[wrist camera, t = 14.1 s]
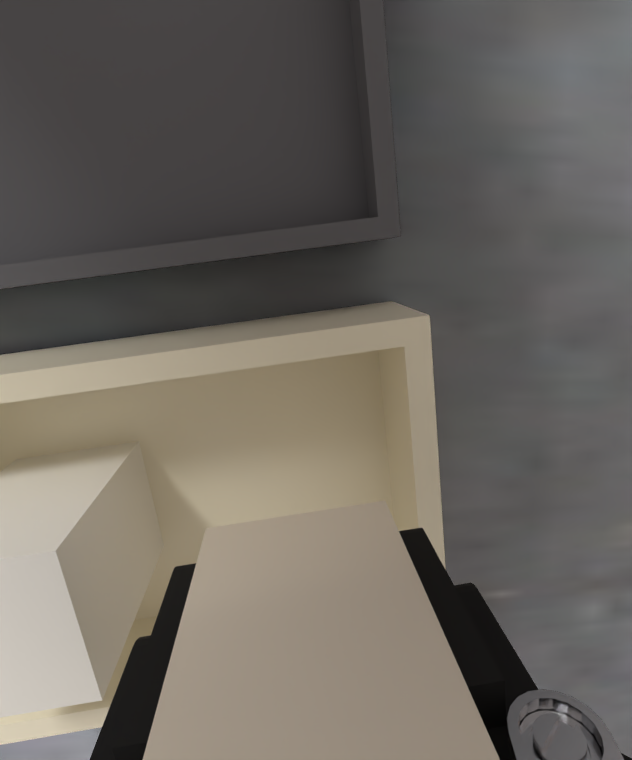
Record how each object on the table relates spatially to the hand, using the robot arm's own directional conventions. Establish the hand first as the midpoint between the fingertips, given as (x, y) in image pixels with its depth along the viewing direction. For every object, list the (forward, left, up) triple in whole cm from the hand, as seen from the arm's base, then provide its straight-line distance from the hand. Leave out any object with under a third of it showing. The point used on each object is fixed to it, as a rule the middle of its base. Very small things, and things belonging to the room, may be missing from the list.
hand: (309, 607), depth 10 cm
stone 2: (0, 0, -1) cm, 1 cm away
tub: (0, -4, -7) cm, 8 cm away
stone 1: (0, -7, -6) cm, 9 cm away
